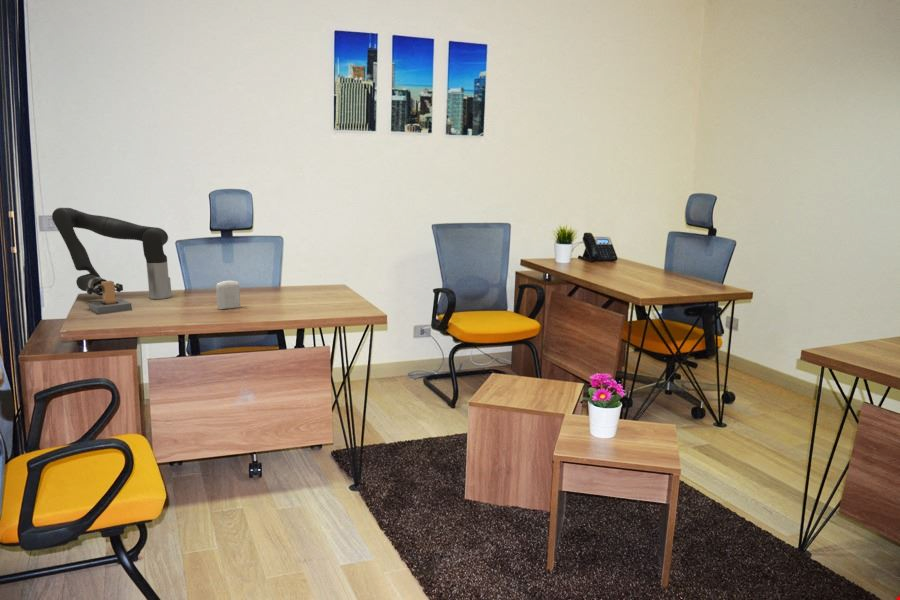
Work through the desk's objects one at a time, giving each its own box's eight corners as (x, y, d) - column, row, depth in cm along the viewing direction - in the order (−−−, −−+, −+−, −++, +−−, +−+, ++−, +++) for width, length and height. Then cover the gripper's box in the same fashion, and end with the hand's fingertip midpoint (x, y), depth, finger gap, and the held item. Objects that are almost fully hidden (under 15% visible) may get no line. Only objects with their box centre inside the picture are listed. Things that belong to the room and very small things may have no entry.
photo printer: (239, 305, 326) (237, 278, 323) (242, 307, 322) (240, 280, 320) (216, 308, 320) (214, 281, 318) (218, 310, 317) (216, 282, 314)
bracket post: (113, 307, 322) (110, 280, 320) (116, 308, 319) (113, 282, 316) (103, 308, 320) (101, 281, 317) (106, 310, 316) (104, 283, 314)
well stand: (122, 305, 329) (121, 298, 328) (131, 309, 319) (131, 303, 318) (89, 309, 320) (88, 302, 320) (97, 314, 310) (97, 307, 309)
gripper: (81, 279, 324) (91, 284, 311) (114, 276, 333) (125, 280, 320) (82, 296, 325) (92, 301, 313) (116, 292, 334) (127, 297, 322)
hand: (109, 291), depth 317 cm, fingers open, 8 cm apart
